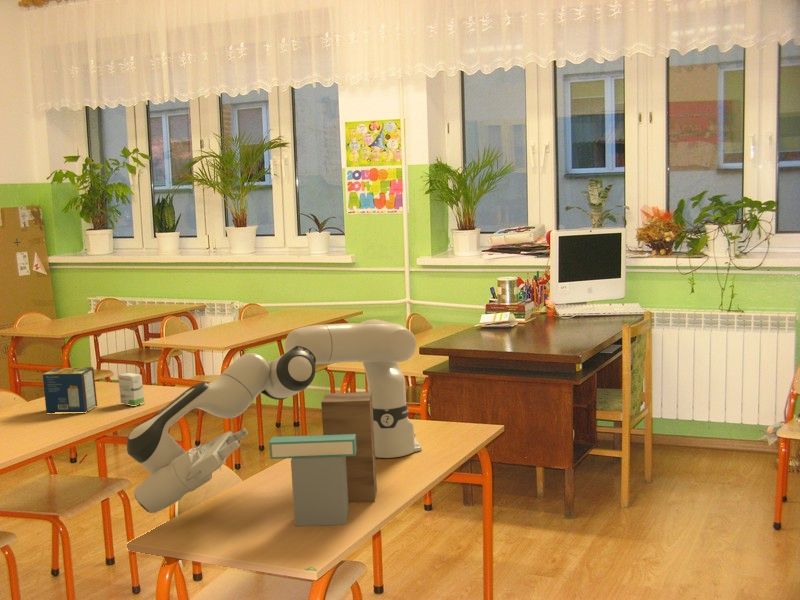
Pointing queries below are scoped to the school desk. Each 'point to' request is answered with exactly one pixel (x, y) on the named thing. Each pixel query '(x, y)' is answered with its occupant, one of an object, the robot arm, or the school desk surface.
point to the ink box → (131, 388)
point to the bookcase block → (356, 418)
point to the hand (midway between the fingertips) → (242, 437)
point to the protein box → (69, 390)
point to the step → (320, 491)
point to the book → (313, 446)
